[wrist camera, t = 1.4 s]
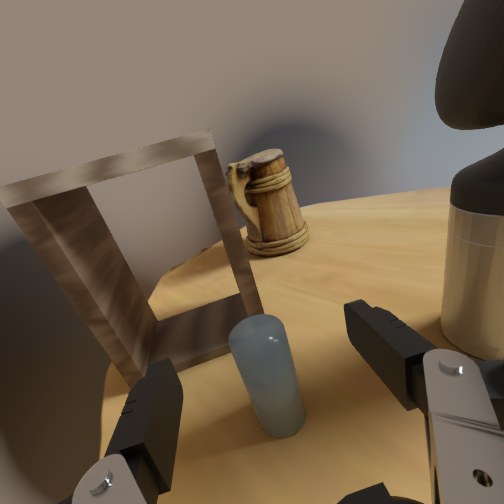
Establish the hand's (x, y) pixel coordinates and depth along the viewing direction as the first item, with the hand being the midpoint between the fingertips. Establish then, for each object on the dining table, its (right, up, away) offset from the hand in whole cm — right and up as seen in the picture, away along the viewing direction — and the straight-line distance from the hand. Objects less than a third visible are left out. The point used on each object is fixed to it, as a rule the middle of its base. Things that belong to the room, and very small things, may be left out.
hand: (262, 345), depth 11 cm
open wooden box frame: (-9, -10, +33) cm, 36 cm away
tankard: (+6, +6, +59) cm, 60 cm away
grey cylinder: (+3, -14, +17) cm, 23 cm away
